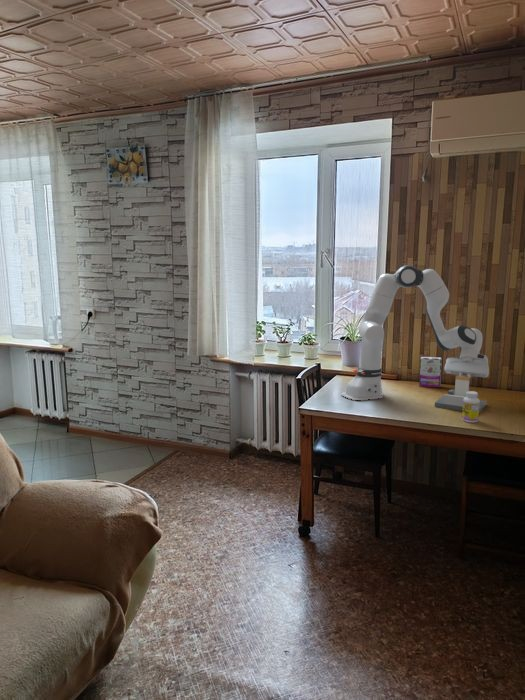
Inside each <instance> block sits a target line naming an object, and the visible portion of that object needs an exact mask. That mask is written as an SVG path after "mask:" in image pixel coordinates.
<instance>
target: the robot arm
mask: <svg viewBox="0 0 525 700" xmlns="http://www.w3.org/2000/svg"><path fill="white" fill-rule="evenodd" d="M413 287H418V288H419V289H420V290H421V292H422V294H423V296H424V297H425V301H426V306H425V310H426V311H425V312H426V315H427V318H428V320H429V324H430V325H431V328H432V330H433V334H434V337H435V342H436V345H437V347H438V348H439V349H440V350H442V351H445V352H449V351H451V350H454V349H456V348H459V347H460V348H461V350H460V353H459V356H448V357H447V358H446V360H445V364H444V369H443V370H444V373H445V374H448V375H449V374H450V375H456V376H466V377H470V379H471V378H472V377H479V378H488V377H489V375H490V368H489V359H488V356H487V355H485V354H482V353H480V351H481V350H482V345H483V341H484V340H483V333H482V331H480V330H479V329H478V328H473V327H472V328H470V327H469V326H467V325H464V324H461V325H458V326H455V327H452V328H450V329H446V328H445V326H444V323H443V321H442V318H441V311H442V309H443V308H444V307H445V306H446V305H447V303H448V301H449V298H450V292H449V290H448V288H447V285H446V284H445V282H444V281H443V279H442V277H441V276H440V275H439V273H437V271H436V270H435V269H432V268H426V269H424V270H421V269H418V268H417V267H415V266H413V265H409V264H406V265H402V266H401V267H399V268H398V269H397V270H396V271H395V273H393V274H392V273H382V274H381V275H380V276H379V278H378V279H377V280H376V283H375V286H374V288H373V290H372V293H371V296H370V299H369V302H368V305H367V308H366V310H365V312H364V315H363V317H362V319H361V322H360V324H359V327H358V333H359V336H361V341H360V343H361V344H360V350H359V364H358V365H359V367H358V369H356V368H353V369H352V373H353V374H354V373H355V376H354V377H353V378H352V379H351V380H350V381H349V382H348V383H347V384H346V385H345V391H343V392H341V395H342V396H341V395H340V396H341V397H343V396H344V397H343V398H345V397H346V398H345V399H347V398H348V400H351V399H352V401H355V400H361V401H369V400H368V399H370V400H377V399H378V398H379V399H383V398H384V392H383V387H382V379H381V378H382V375H383V374H382V373H383V372H382V370H383V369H382V352H383V346H384V338H385V330H384V327H383V325H384V323H385V321H386V319H387V317H388V315H389V314H390V311H391V308H392V305H393V302H394V299H395V296H396V293H397V292H398V290H399V289H400V288H406V289H409V288H413ZM379 399H378V400H379Z"/></svg>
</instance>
